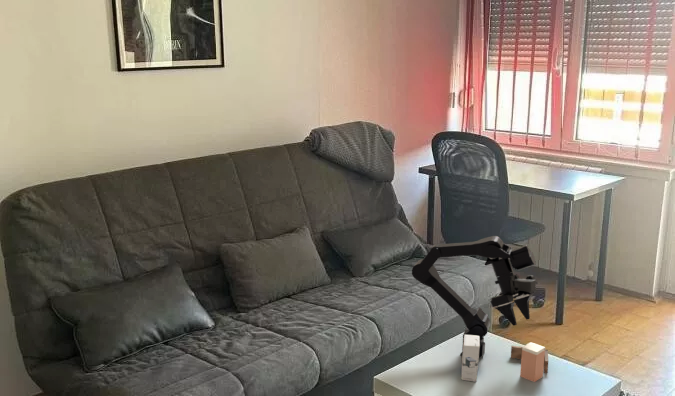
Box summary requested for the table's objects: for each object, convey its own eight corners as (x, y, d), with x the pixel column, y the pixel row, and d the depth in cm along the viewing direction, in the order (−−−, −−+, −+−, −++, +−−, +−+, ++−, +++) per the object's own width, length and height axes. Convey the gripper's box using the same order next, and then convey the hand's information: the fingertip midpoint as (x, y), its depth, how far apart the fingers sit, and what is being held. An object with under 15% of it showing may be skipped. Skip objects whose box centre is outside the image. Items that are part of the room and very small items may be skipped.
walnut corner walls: (510, 368, 214) (510, 356, 213) (510, 356, 222) (511, 345, 221) (547, 373, 211) (548, 361, 210) (546, 361, 219) (547, 349, 218)
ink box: (461, 367, 214) (463, 333, 211) (477, 369, 213) (479, 335, 210) (461, 380, 206) (462, 345, 203) (477, 382, 205) (479, 346, 202)
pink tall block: (520, 376, 208) (522, 346, 206) (528, 371, 212) (530, 342, 210) (534, 382, 205) (536, 352, 203) (542, 376, 208) (545, 347, 206)
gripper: (513, 272, 200) (531, 322, 198) (539, 263, 215) (556, 310, 212) (482, 282, 208) (499, 330, 205) (509, 273, 222) (526, 318, 219)
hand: (521, 322), depth 210 cm, fingers open, 9 cm apart
